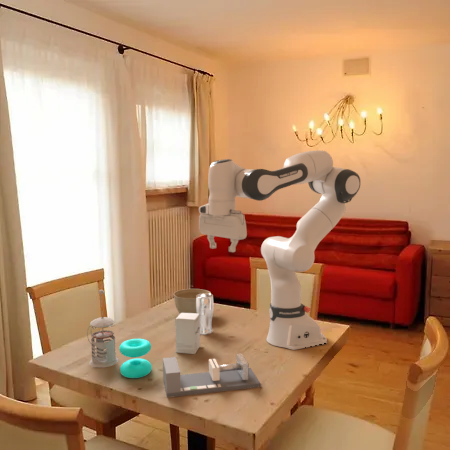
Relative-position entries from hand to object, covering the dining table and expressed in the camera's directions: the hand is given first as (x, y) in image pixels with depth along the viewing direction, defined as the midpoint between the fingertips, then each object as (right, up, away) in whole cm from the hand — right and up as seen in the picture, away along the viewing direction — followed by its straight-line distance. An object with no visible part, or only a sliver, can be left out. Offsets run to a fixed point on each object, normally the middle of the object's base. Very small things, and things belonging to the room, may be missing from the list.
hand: (222, 249), depth 158 cm
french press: (-41, -38, +3) cm, 56 cm away
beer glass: (-7, -34, +29) cm, 46 cm away
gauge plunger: (+3, -38, -13) cm, 40 cm away
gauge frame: (-3, -40, -14) cm, 43 cm away
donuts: (-28, -39, -7) cm, 49 cm away
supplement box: (-12, -37, +12) cm, 41 cm away
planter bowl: (-13, -32, +47) cm, 59 cm away
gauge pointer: (-2, -37, -15) cm, 40 cm away
